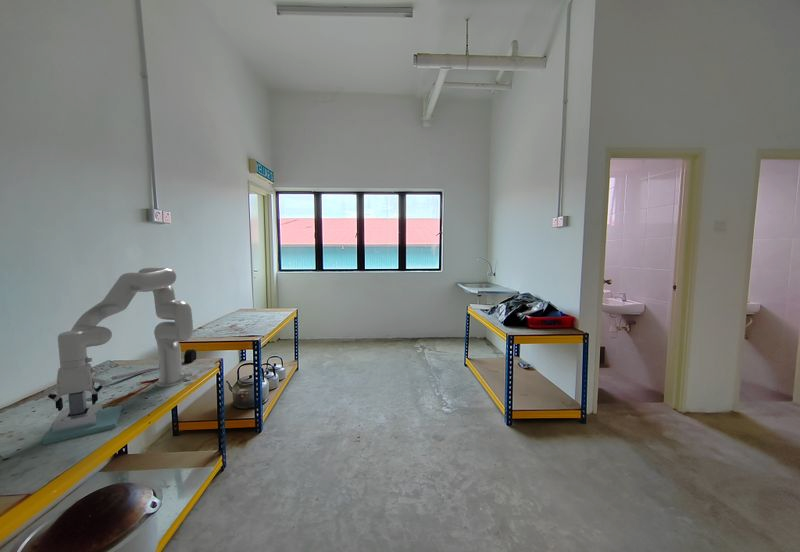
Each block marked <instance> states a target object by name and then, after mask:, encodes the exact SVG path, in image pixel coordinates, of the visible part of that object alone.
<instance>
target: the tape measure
mask: <svg viewBox="0 0 800 552" xmlns="http://www.w3.org/2000/svg"><path fill="white" fill-rule="evenodd" d="M196 360H197V350H196V349H186V351H184V354H183V363H184V364H192V363H193V362H194V361H196Z"/></svg>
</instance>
